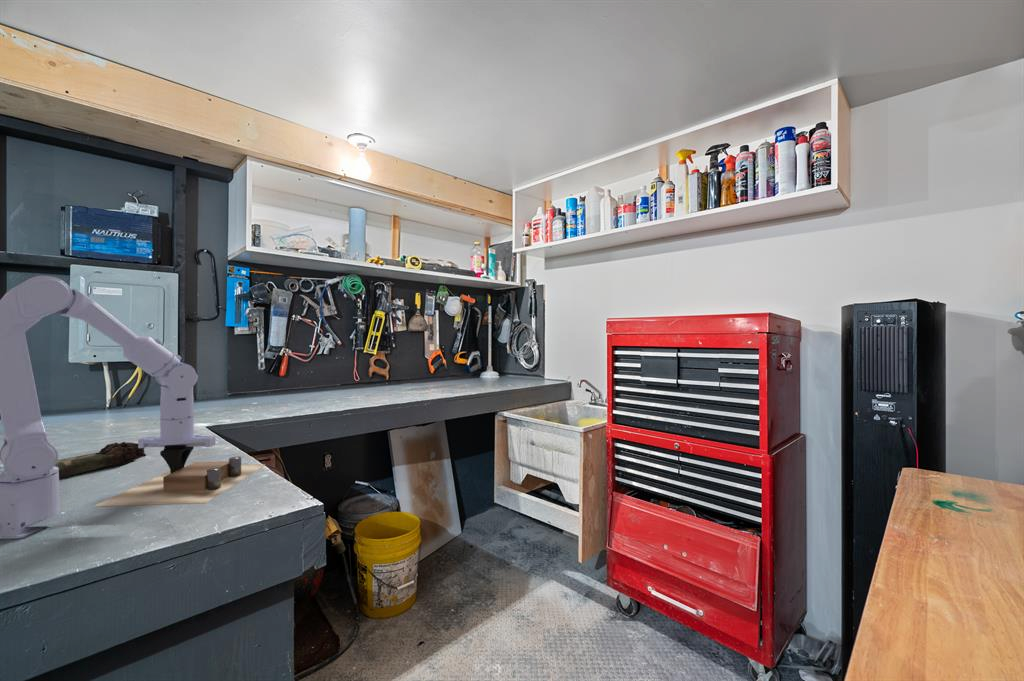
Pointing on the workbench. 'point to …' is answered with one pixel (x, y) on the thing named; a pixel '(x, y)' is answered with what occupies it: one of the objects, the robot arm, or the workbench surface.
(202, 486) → the walnut plate
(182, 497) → the bench board
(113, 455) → the mossy wood log
